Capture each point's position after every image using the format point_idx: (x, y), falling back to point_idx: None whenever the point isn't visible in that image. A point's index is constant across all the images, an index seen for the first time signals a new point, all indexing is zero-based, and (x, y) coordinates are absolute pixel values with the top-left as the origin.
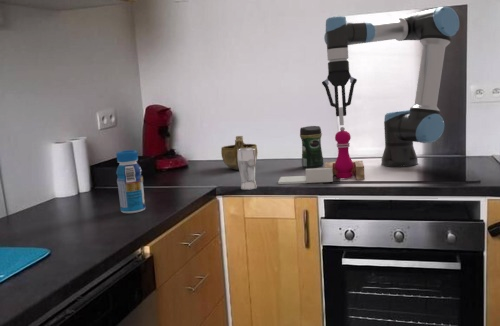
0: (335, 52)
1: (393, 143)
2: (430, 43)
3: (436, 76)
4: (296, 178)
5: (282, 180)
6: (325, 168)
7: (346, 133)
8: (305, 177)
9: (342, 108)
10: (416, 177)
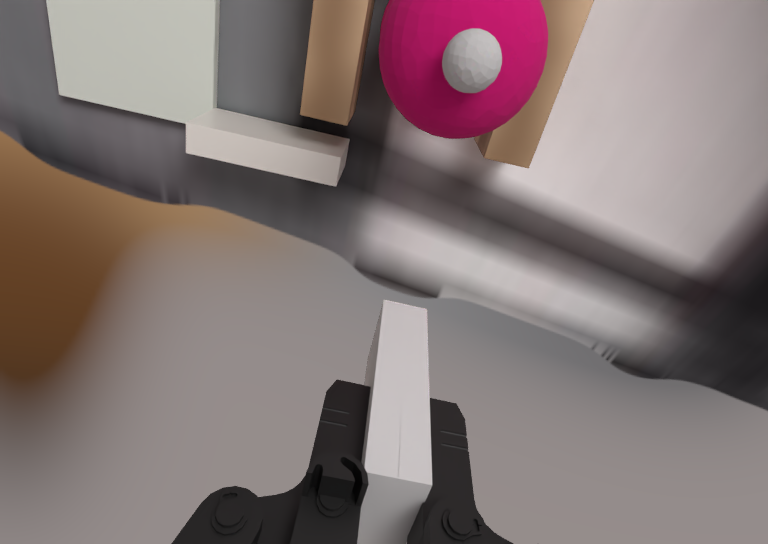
0: None
1: None
2: None
3: None
4: (150, 23)
5: (74, 54)
6: (301, 160)
7: (489, 126)
8: (203, 13)
9: (397, 537)
10: (749, 202)
